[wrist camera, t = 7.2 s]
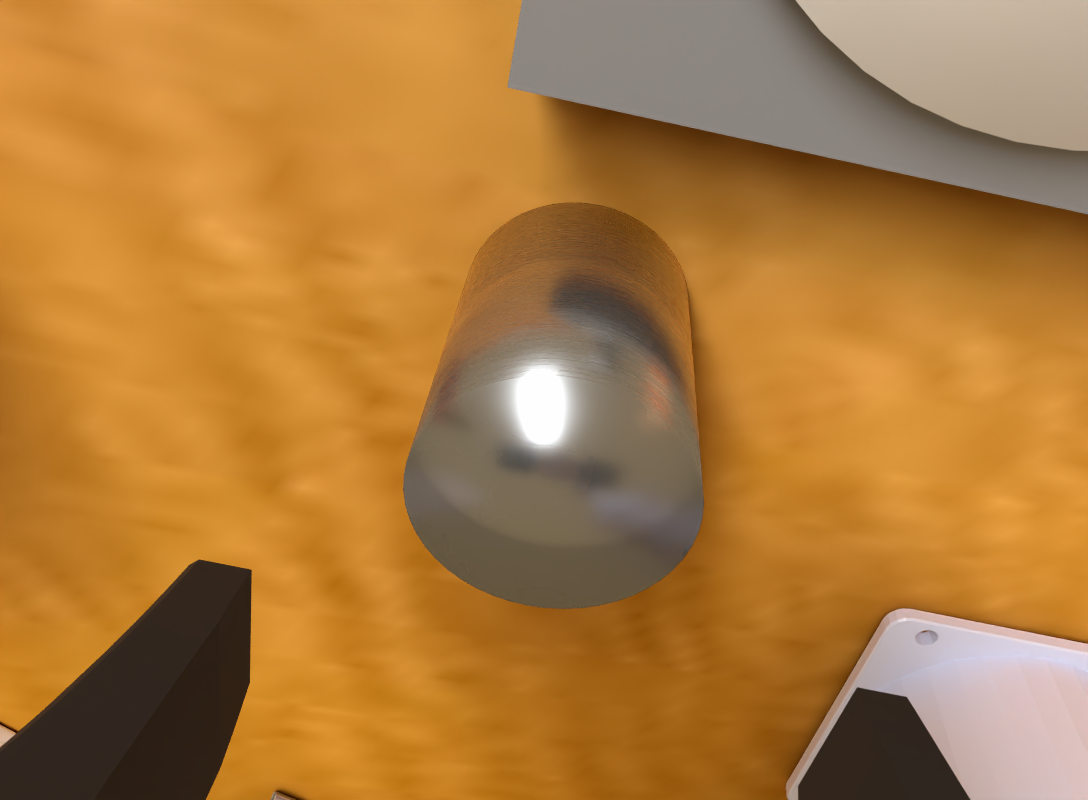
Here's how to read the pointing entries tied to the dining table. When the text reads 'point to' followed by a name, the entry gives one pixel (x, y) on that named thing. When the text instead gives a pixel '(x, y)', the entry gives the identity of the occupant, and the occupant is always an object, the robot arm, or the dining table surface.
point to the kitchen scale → (840, 80)
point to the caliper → (280, 796)
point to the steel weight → (563, 415)
